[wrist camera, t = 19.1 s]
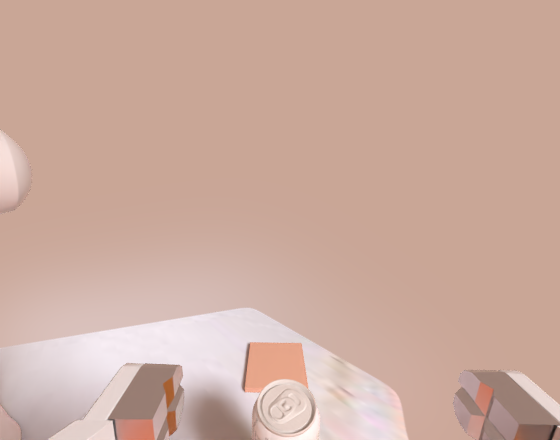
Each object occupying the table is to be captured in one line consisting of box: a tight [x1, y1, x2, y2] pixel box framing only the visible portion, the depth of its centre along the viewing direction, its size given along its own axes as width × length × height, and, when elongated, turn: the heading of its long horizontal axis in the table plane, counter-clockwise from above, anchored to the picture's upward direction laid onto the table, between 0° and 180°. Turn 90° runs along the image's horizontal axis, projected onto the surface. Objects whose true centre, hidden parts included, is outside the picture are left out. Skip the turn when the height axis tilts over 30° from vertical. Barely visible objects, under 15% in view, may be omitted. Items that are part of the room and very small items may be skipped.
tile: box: [245, 342, 308, 392], centre depth 46 cm, size 1×10×10 cm
